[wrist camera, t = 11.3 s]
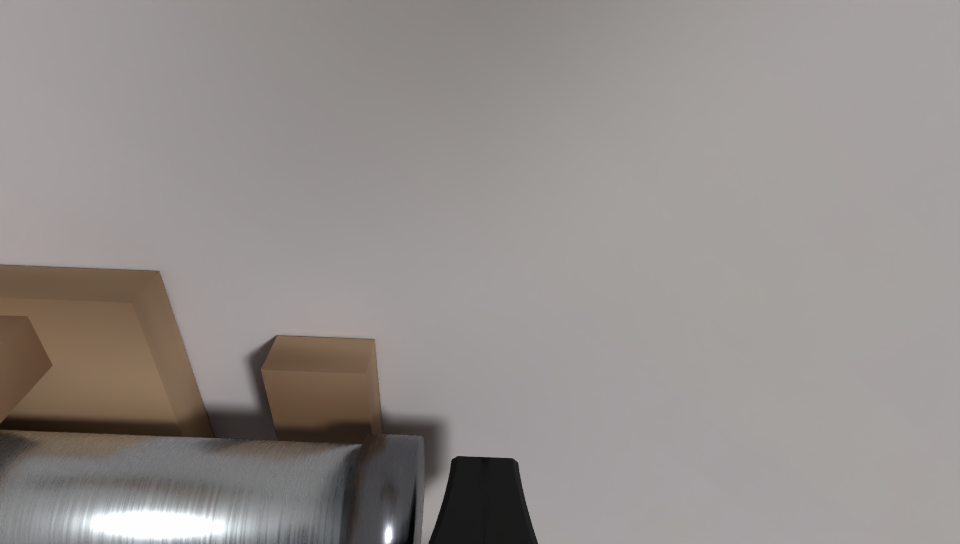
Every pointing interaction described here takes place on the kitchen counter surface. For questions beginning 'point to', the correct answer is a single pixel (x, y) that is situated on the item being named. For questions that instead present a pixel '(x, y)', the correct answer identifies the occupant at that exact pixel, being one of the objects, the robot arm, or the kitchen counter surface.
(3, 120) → the kitchen counter surface
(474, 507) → the robot arm
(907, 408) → the kitchen counter surface
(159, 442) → the shaft
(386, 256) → the kitchen counter surface
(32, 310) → the rig
